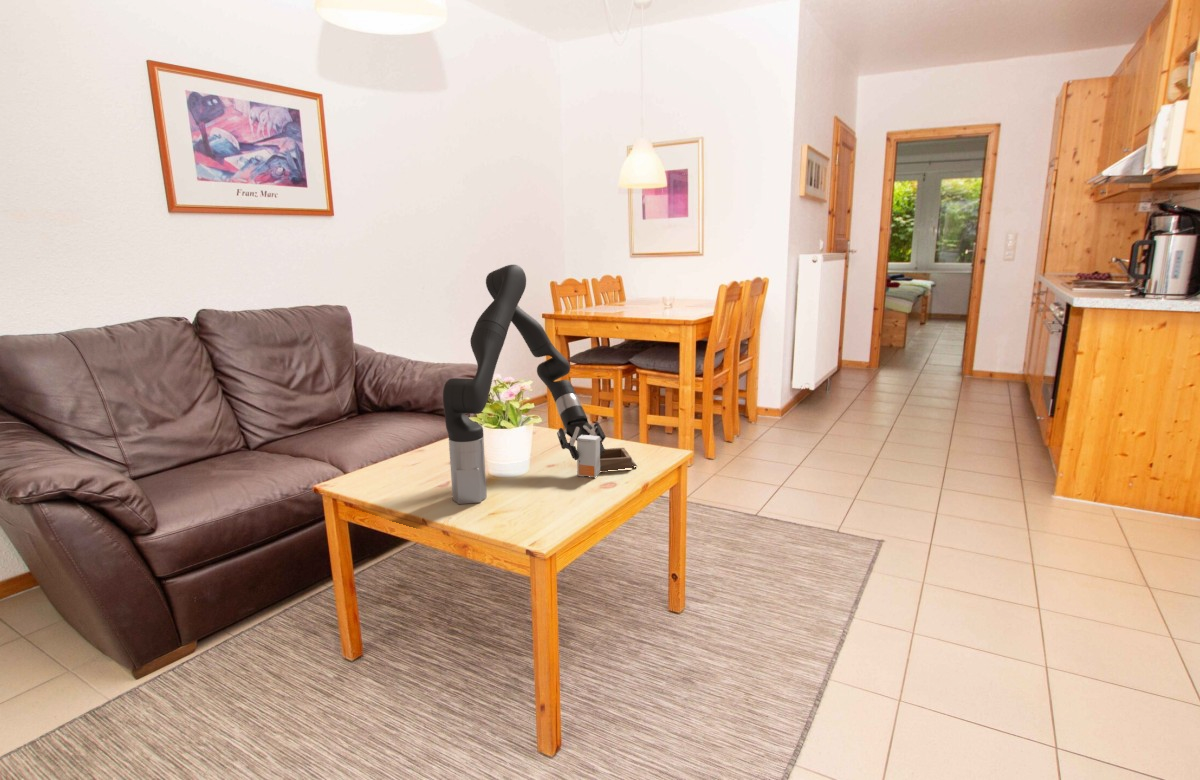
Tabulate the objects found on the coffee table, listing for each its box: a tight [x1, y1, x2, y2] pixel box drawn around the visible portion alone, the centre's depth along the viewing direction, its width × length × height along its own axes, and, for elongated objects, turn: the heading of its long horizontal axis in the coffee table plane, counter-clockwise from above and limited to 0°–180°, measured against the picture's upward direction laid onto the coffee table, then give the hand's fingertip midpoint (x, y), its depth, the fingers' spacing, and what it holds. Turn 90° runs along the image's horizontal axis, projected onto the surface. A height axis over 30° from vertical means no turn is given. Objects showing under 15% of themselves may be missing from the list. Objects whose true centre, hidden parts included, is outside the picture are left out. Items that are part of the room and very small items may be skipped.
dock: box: [600, 447, 638, 471], centre depth 198 cm, size 11×13×4 cm
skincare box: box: [576, 435, 601, 478], centre depth 189 cm, size 6×4×12 cm
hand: (589, 456), depth 188 cm, fingers open, 8 cm apart
